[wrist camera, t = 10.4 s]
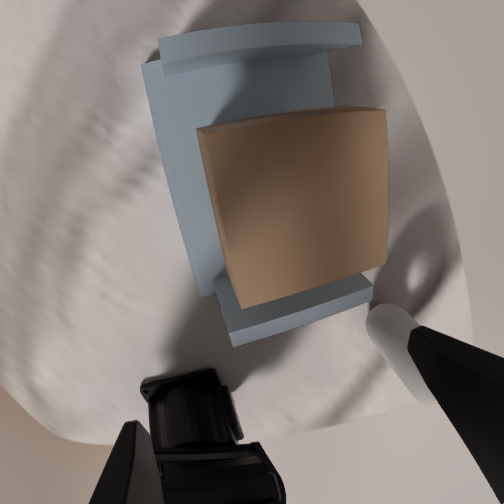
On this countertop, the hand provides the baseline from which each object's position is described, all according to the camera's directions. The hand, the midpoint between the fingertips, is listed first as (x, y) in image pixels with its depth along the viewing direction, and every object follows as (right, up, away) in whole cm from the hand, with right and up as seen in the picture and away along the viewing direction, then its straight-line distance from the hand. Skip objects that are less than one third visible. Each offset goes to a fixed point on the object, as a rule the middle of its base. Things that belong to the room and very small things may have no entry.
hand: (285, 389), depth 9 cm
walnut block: (+1, +7, +5) cm, 8 cm away
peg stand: (-1, +9, +9) cm, 13 cm away
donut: (+10, -2, +18) cm, 21 cm away
